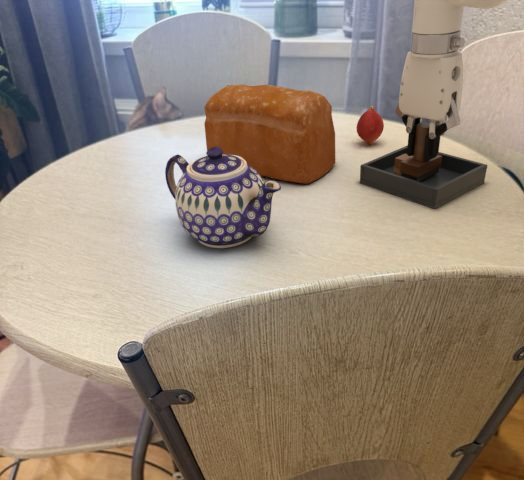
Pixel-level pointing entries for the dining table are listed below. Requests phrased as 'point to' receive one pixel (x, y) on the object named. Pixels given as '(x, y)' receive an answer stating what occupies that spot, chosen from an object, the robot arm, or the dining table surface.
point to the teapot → (220, 198)
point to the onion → (370, 126)
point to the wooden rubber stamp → (420, 158)
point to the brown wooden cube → (399, 163)
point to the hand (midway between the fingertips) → (422, 155)
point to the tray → (430, 189)
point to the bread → (273, 130)
